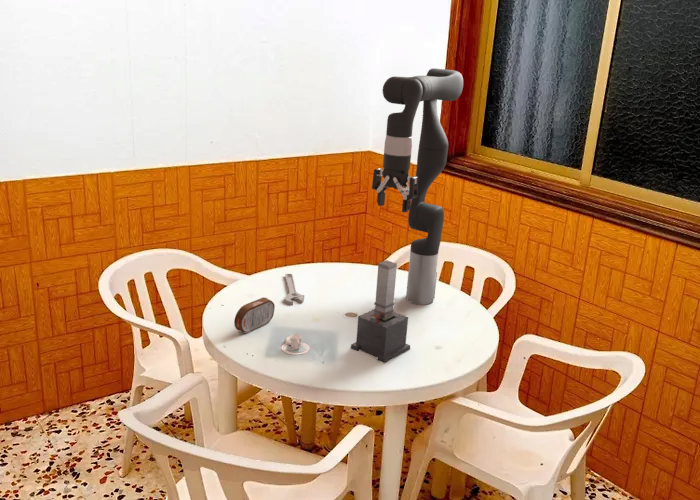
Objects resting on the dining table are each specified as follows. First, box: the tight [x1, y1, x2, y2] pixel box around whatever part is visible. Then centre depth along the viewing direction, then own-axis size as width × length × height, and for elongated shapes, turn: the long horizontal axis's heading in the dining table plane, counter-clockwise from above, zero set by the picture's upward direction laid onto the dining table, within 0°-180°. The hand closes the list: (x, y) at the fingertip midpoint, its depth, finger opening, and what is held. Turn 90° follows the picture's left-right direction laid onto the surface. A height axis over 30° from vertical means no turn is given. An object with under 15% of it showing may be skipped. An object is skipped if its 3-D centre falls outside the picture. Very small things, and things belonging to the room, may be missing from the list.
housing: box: [350, 308, 411, 364], centre depth 189 cm, size 12×12×11 cm
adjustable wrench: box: [284, 273, 305, 306], centre depth 228 cm, size 25×6×2 cm, turn 5°
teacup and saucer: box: [281, 333, 311, 356], centre depth 188 cm, size 9×8×4 cm
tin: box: [233, 297, 276, 334], centre depth 197 cm, size 15×3×8 cm, turn 144°
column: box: [374, 259, 398, 322], centre depth 185 cm, size 4×4×19 cm
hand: (392, 208), depth 190 cm, fingers open, 8 cm apart
